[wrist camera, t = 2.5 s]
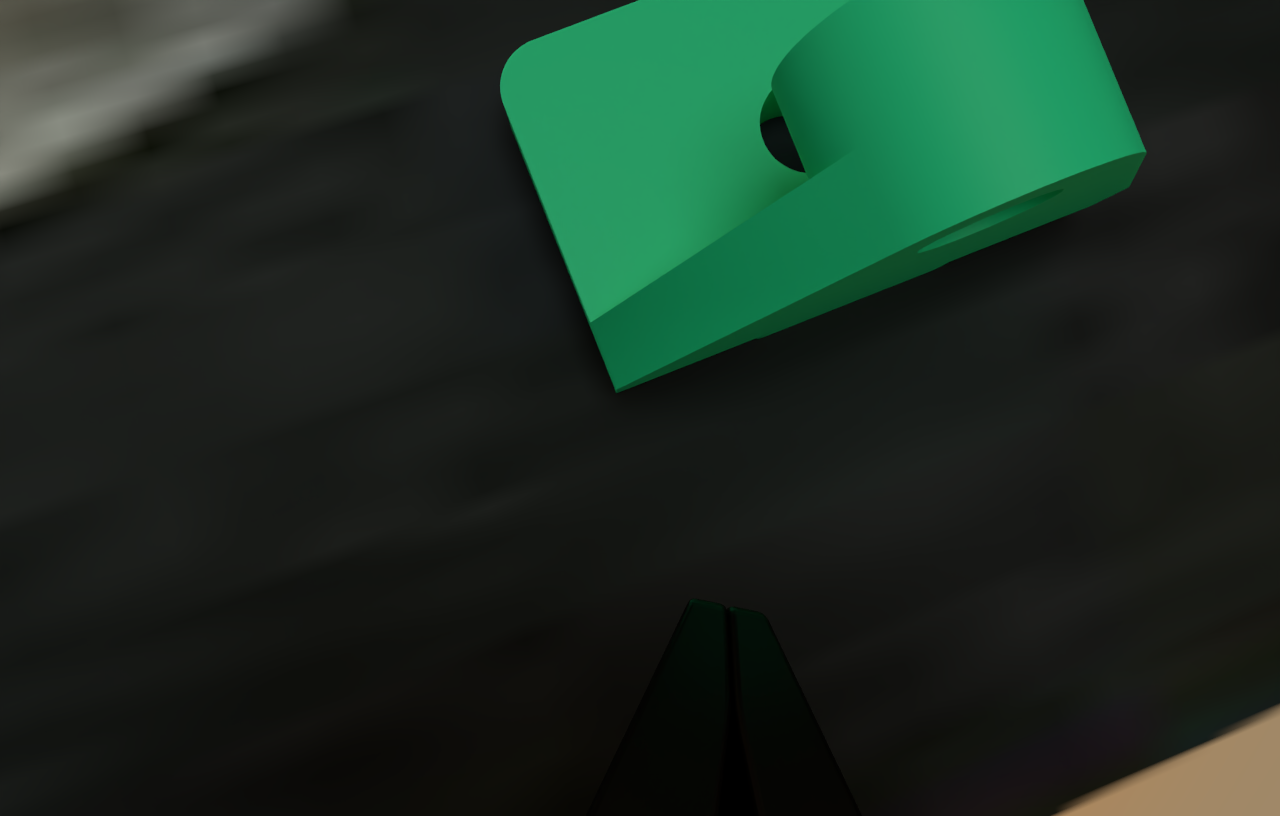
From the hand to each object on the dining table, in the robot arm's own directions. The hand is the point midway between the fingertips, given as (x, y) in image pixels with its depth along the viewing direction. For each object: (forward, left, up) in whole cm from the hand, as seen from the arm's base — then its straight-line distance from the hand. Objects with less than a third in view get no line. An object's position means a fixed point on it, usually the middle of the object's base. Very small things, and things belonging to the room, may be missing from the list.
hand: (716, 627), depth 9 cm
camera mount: (+5, +8, -11) cm, 15 cm away
